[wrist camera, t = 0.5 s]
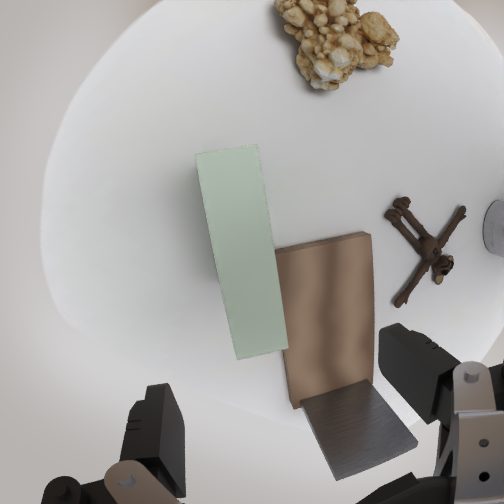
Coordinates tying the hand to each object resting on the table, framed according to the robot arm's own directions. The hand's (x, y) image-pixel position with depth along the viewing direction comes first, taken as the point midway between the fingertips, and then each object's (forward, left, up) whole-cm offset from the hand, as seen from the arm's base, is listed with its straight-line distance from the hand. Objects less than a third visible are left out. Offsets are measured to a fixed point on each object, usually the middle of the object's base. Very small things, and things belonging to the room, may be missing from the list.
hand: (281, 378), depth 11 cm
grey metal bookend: (-10, +23, -22) cm, 34 cm away
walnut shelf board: (-10, +13, -25) cm, 30 cm away
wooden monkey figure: (-25, +5, -25) cm, 36 cm away
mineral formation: (-15, -23, -25) cm, 37 cm away
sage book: (0, -2, -25) cm, 25 cm away
